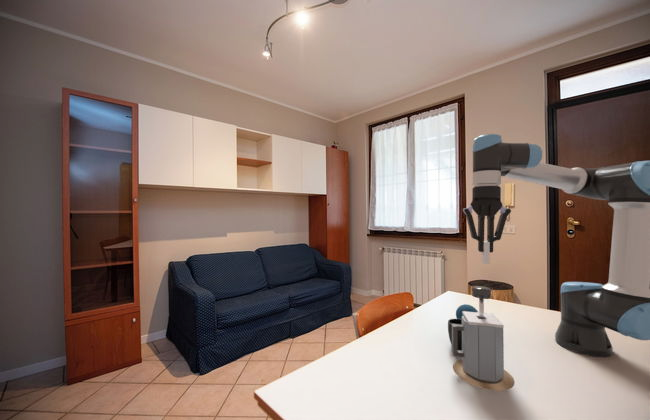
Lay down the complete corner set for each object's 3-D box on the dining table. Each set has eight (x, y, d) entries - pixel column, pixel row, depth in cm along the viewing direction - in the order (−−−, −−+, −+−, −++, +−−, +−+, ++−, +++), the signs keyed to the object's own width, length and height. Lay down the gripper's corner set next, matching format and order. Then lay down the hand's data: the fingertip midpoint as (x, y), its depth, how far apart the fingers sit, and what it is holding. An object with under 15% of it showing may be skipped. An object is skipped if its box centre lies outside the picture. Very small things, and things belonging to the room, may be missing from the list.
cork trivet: (502, 364, 87) (502, 362, 87) (524, 397, 72) (524, 395, 72) (448, 357, 92) (448, 355, 92) (458, 386, 76) (458, 384, 76)
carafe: (495, 366, 85) (495, 313, 85) (507, 386, 75) (507, 326, 76) (449, 360, 89) (449, 309, 89) (455, 378, 79) (455, 321, 79)
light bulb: (480, 333, 109) (480, 303, 109) (479, 342, 102) (478, 310, 102) (457, 329, 114) (457, 300, 114) (454, 336, 107) (454, 306, 107)
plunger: (491, 324, 84) (491, 285, 85) (500, 335, 77) (500, 292, 77) (464, 322, 86) (464, 284, 87) (470, 332, 79) (470, 290, 79)
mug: (489, 353, 94) (488, 325, 94) (458, 356, 92) (458, 328, 92) (471, 342, 102) (471, 316, 102) (443, 345, 100) (443, 319, 100)
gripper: (506, 187, 85) (505, 262, 85) (460, 187, 89) (459, 259, 89) (515, 184, 78) (514, 266, 78) (465, 185, 82) (464, 263, 82)
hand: (485, 262), depth 83 cm, fingers closed
